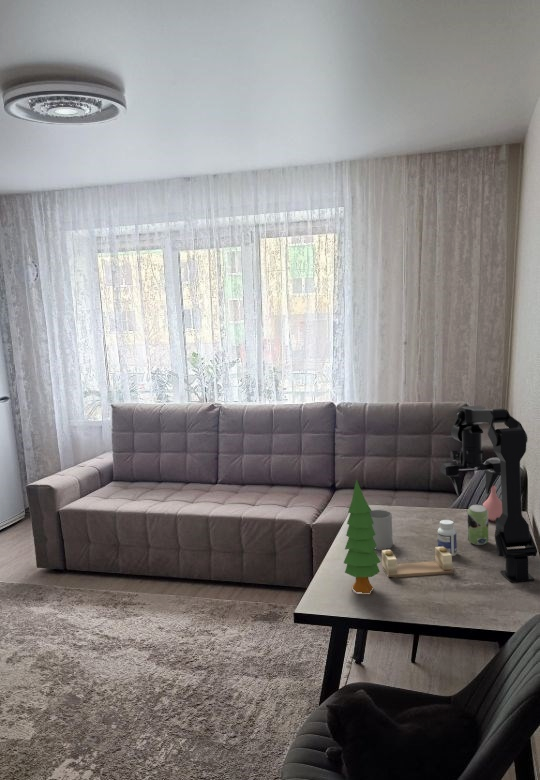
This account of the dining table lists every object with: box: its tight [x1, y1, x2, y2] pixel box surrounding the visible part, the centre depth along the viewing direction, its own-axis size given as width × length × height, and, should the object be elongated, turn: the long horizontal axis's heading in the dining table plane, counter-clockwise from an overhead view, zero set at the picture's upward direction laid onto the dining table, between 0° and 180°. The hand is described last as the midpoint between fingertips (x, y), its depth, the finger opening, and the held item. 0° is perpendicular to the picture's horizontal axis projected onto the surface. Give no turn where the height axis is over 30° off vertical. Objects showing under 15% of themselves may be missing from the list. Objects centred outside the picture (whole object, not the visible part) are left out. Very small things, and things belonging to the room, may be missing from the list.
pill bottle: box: [437, 519, 458, 557], centre depth 170 cm, size 5×5×10 cm
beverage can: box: [467, 504, 489, 546], centre depth 176 cm, size 6×7×12 cm
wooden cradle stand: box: [381, 549, 454, 578], centre depth 159 cm, size 7×18×6 cm, turn 93°
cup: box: [369, 509, 394, 550], centre depth 180 cm, size 8×8×10 cm
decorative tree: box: [343, 479, 382, 593], centre depth 148 cm, size 10×9×30 cm
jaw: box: [434, 546, 453, 570], centre depth 159 cm, size 7×2×5 cm, turn 3°
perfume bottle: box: [482, 485, 502, 522], centre depth 197 cm, size 8×8×12 cm
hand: (472, 494), depth 179 cm, fingers open, 9 cm apart
